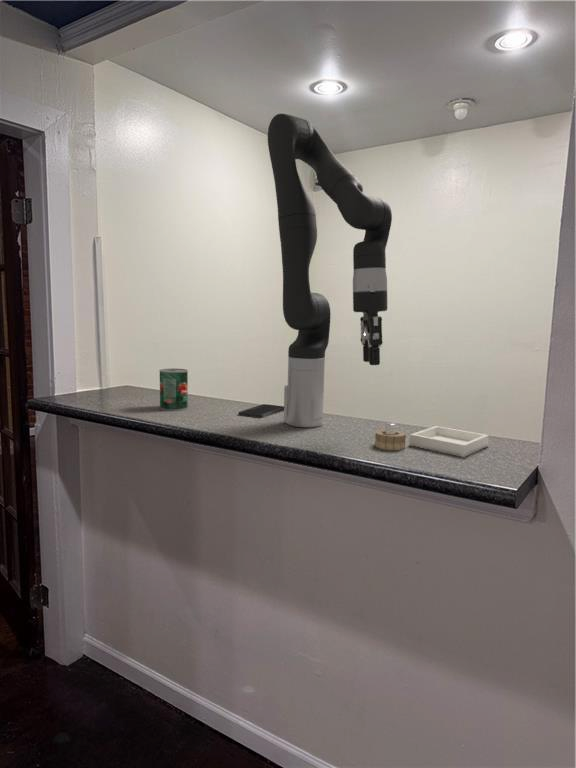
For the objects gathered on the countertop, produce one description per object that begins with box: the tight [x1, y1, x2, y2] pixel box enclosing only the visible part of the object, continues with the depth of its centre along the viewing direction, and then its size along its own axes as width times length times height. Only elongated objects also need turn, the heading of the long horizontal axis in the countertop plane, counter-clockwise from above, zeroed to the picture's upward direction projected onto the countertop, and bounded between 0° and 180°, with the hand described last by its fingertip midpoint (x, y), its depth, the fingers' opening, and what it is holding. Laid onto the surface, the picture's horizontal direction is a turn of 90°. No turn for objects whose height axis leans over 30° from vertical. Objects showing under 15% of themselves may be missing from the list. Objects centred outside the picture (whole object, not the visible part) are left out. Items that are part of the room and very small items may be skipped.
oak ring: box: [374, 428, 407, 451], centre depth 118 cm, size 6×6×3 cm
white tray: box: [408, 425, 490, 458], centre depth 119 cm, size 13×13×2 cm
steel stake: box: [385, 422, 397, 435], centre depth 118 cm, size 2×2×5 cm
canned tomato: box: [158, 368, 189, 412], centre depth 154 cm, size 8×8×11 cm
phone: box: [238, 403, 284, 419], centre depth 152 cm, size 8×1×15 cm
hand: (371, 363), depth 121 cm, fingers open, 8 cm apart
